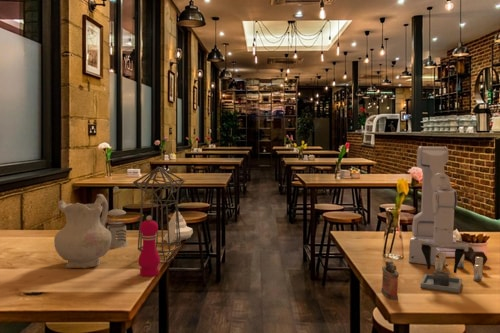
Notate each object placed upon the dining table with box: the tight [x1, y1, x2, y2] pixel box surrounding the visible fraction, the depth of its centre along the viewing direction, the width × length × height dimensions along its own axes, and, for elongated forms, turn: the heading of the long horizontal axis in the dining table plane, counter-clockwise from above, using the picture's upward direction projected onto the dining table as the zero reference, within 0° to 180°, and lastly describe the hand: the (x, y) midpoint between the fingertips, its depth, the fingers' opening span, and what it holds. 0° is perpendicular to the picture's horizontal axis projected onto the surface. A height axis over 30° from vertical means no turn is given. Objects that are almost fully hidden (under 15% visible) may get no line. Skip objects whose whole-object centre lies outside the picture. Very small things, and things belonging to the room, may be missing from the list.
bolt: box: [464, 246, 488, 266], centre depth 176 cm, size 6×5×15 cm
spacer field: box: [434, 251, 484, 282], centre depth 160 cm, size 14×15×5 cm
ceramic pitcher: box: [53, 193, 112, 269], centre depth 168 cm, size 22×20×25 cm
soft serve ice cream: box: [163, 210, 194, 243], centre depth 205 cm, size 12×15×14 cm
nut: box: [433, 270, 451, 287], centre depth 146 cm, size 4×5×4 cm
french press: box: [104, 186, 129, 249], centre depth 194 cm, size 10×12×25 cm
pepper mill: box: [138, 215, 161, 278], centre depth 156 cm, size 7×7×20 cm
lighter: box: [381, 260, 399, 301], centre depth 137 cm, size 8×3×10 cm, turn 5°
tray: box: [420, 273, 462, 295], centre depth 147 cm, size 11×11×2 cm
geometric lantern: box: [132, 166, 186, 264], centre depth 173 cm, size 16×16×35 cm
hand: (441, 270), depth 146 cm, fingers open, 7 cm apart
